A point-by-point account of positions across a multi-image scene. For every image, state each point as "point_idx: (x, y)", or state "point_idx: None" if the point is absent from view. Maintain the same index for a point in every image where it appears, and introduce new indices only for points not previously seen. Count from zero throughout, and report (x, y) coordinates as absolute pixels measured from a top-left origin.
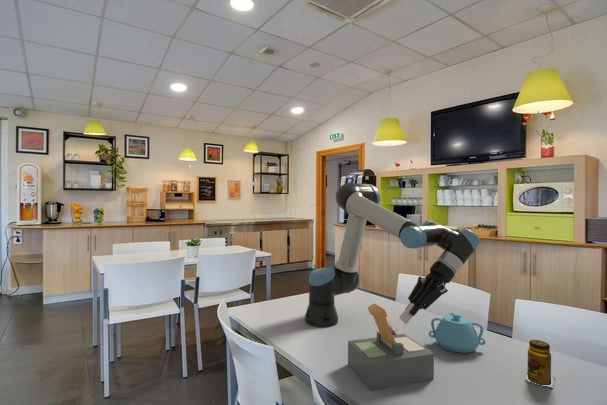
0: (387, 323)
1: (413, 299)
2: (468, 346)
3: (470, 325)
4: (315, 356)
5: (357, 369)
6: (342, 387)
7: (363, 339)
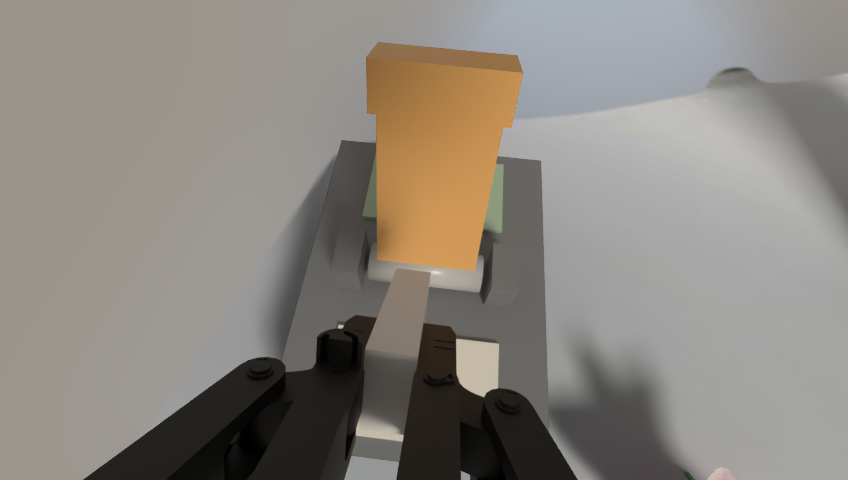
0: (377, 151)
1: (422, 395)
2: None
3: None
4: (598, 154)
5: None
6: None
7: (538, 220)
